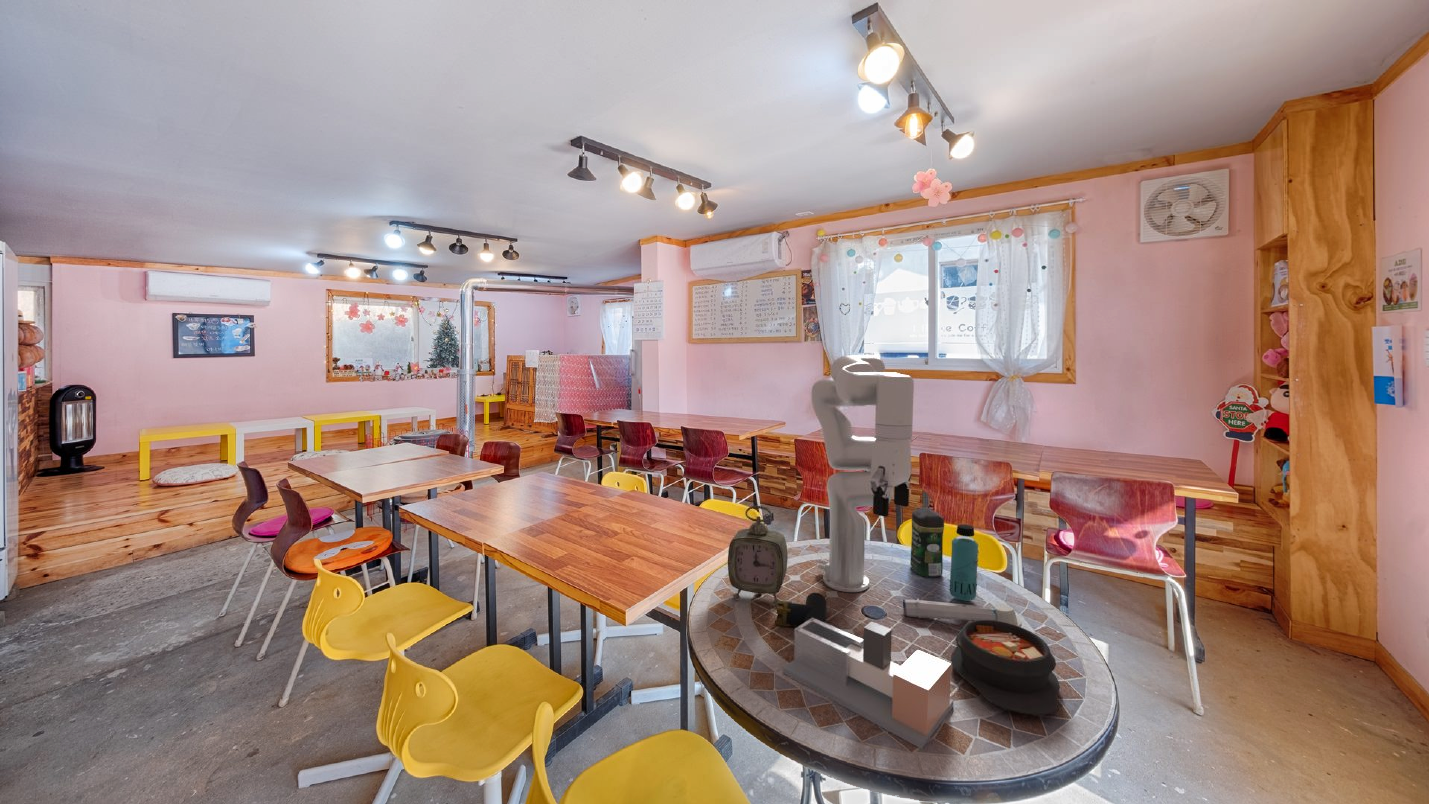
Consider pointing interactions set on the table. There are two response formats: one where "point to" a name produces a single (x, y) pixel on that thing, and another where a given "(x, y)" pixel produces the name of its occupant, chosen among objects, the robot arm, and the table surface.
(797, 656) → the outer sleeve
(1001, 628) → the casserole
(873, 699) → the base board
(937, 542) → the coffee jar
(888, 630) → the sliding latch bolt
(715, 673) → the table surface
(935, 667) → the socket block
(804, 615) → the pipe connector
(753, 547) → the tabletop clock
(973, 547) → the beverage bottle
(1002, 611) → the electric cleaning brush
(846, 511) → the robot arm
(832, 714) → the table surface
